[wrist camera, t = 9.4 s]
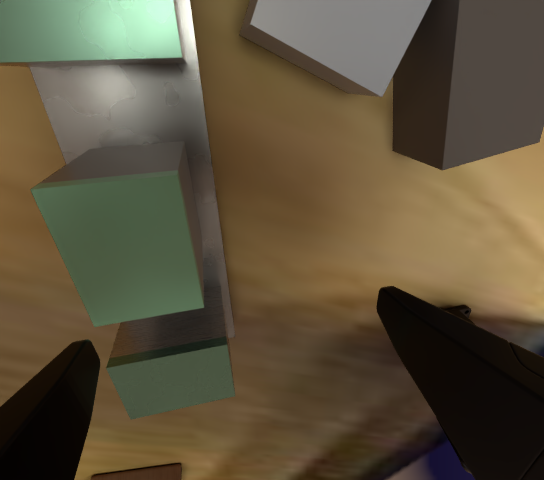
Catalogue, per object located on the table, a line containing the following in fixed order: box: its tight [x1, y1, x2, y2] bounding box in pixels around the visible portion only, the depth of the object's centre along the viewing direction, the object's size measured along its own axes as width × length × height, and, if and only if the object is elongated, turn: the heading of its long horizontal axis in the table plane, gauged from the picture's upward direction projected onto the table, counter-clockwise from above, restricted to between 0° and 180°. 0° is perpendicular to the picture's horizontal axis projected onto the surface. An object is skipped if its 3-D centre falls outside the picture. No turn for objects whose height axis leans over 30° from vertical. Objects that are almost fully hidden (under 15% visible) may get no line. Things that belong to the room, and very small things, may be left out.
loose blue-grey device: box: [239, 0, 431, 97], centre depth 14 cm, size 5×7×4 cm
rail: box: [0, 0, 235, 419], centre depth 15 cm, size 23×7×7 cm, turn 2°
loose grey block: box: [393, 0, 544, 170], centre depth 16 cm, size 8×6×5 cm
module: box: [30, 141, 204, 327], centre depth 14 cm, size 6×4×6 cm
